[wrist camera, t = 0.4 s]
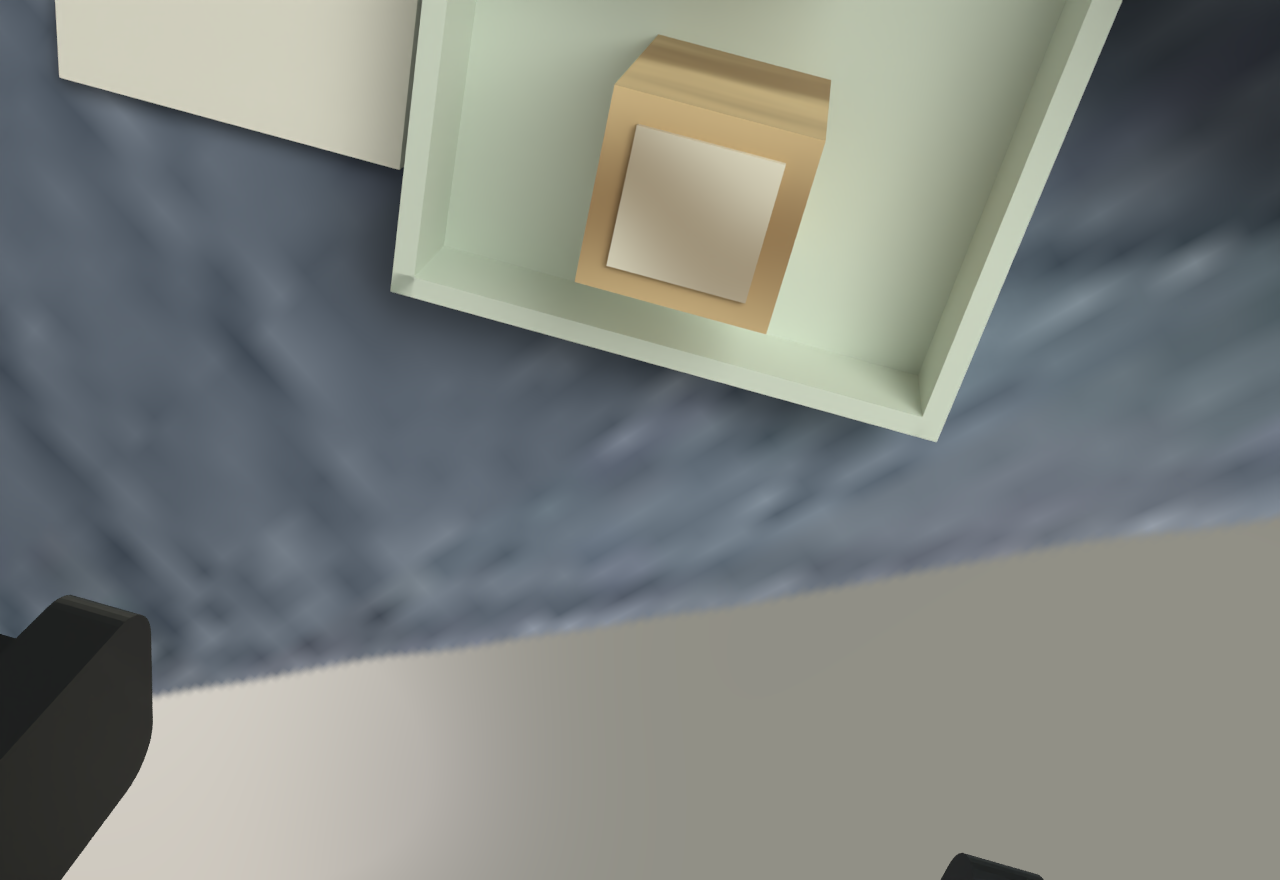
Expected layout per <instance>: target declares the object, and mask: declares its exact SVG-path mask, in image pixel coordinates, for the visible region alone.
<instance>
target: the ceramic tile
mask: <svg viewBox="0 0 1280 880" xmlns="http://www.w3.org/2000/svg"><path fill="white" fill-rule="evenodd" d="M55 7H56V25H57V44H58V62H59V78H63V79H67V80H70V81H74V82H78V83H81V84H85V85H89V86H92V87H96V88H100V89H103V90H107V91H111V92H114V93H118V94H122V95H125V96H129V97H133V98H137V99H140V100H144V101H148V102H151V103H155V104H159V105H162V106H166V107H170V108H173V109H177V110H181V111H184V112H188V113H192V114H195V115H199V116H203V117H206V118H210V119H214V120H217V121H221V122H225V123H228V124H232V125H236V126H240V127H243V128H247V129H251V130H254V131H258V132H262V133H265V134H269V135H273V136H276V137H280V138H284V139H287V140H291V141H295V142H298V143H302V144H306V145H309V146H313V147H317V148H320V149H324V150H328V151H332V152H335V153H339V154H343V155H346V156H350V157H354V158H357V159H361V160H365V161H368V162H372V163H376V164H379V165H383V166H387V167H390V168H394V169H398V170H400V169H401V168H402V167H404V163H405V154H406V145H407V136H408V127H409V118H410V109H411V99H412V90H413V81H414V72H415V63H416V54H417V45H418V35H419V26H420V17H421V8H422V0H55Z"/></svg>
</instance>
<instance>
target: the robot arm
mask: <svg viewBox="0 0 1280 880" xmlns="http://www.w3.org/2000/svg"><path fill="white" fill-rule="evenodd" d="M152 725H153V714H152V661H151V628H150V624H149V621H148V619H147V618H146V617H145V616H143V615H139V614H136V613H132V612H129V611H125V610H122V609H118V608H115V607H111V606H108V605H104V604H101V603H97V602H94V601H90V600H87V599H83V598H80V597H76V596H73V595H66V596H63V597H61V598H59V599H57V600H56V601H54V602H53V603H52V604H51V605H50V606H49V607H47V608H46V609H45V610H44V611H43V612H42V613H41V614H40V615H39V616H38V617H37V618H36V619H35V620H34V621H33V622H32V623H31V624H30V625H29V626H28V627H27V628H26V629H25V630H24V631H23V632H22V633H21V634H20V635H19V636H18V637H17V638H12V637H9V636H5V635H2V634H0V880H61V879H62V878H63V876H64V875H65V874H66V872H67V871H68V870H69V868H70V867H71V866H72V864H73V863H74V862H75V860H76V859H77V858H78V856H79V855H80V854H81V852H82V851H83V850H84V848H85V847H86V846H87V844H88V843H89V841H90V840H91V838H92V837H93V836H94V835H95V833H96V832H97V831H98V829H99V828H100V827H101V825H102V824H103V822H104V821H105V820H106V819H107V817H108V816H109V815H110V813H111V812H112V811H113V809H114V808H115V806H116V805H117V804H118V802H119V801H120V800H121V798H122V797H123V796H124V794H125V793H126V792H127V790H128V789H129V787H130V786H131V784H132V782H133V781H134V779H135V778H136V776H137V774H138V772H139V770H140V768H141V765H142V763H143V761H144V758H145V755H146V753H147V750H148V746H149V743H150V739H151V733H152ZM941 880H1043V878H1042V877H1041V876H1040V875H1037V874H1034V873H1031V872H1027V871H1024V870H1020V869H1017V868H1013V867H1010V866H1006V865H1003V864H999V863H996V862H992V861H989V860H985V859H982V858H978V857H975V856H971V855H968V854H964V853H960V854H958V855H956V856H955V857H954V858H953V860H952V861H951V862H950V864H949V866H948V867H947V869H946V871H945V873H944V875H943V877H942V878H941Z"/></svg>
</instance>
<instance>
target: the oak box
mask: <svg viewBox="0 0 1280 880" xmlns="http://www.w3.org/2000/svg"><path fill="white" fill-rule="evenodd" d="M830 87H831V80H829V79H825V78H822V77H818V76H814V75H810V74H806V73H803V72H799V71H795V70H791V69H788V68H784V67H780V66H776V65H773V64H769V63H765V62H761V61H757V60H754V59H750V58H746V57H742V56H739V55H735V54H731V53H727V52H723V51H720V50H716V49H712V48H708V47H705V46H701V45H697V44H693V43H690V42H686V41H682V40H678V39H674V38H671V37H667V36H663V35H659V34H658V35H657V37H656V38H655V39H654V40H653V41H652V42H651V43H650V45H649V46H648V47H647V48H646V49H645V50H644V51H643V53H642V54H641V55H640V56H639V57H638V58H637V59H636V61H635V62H634V63H633V64H632V65H631V66H630V67H629V69H628V70H627V71H626V72H625V73H624V74H623V75H622V76H621V78H620V79H619V80H618V81H617V82H616V83H615V84H614V89H613V94H612V99H611V104H610V109H609V114H608V119H607V124H606V129H605V133H604V138H603V143H602V148H601V153H600V158H599V163H598V168H597V173H596V178H595V183H594V188H593V193H592V198H591V203H590V208H589V213H588V218H587V222H586V227H585V232H584V237H583V242H582V247H581V252H580V257H579V262H578V267H577V272H576V277H575V282H576V283H580V284H584V285H587V286H591V287H595V288H598V289H602V290H606V291H609V292H613V293H617V294H620V295H624V296H628V297H631V298H635V299H639V300H642V301H646V302H649V303H653V304H657V305H660V306H664V307H668V308H671V309H675V310H679V311H682V312H686V313H690V314H693V315H697V316H701V317H704V318H708V319H712V320H715V321H719V322H722V323H726V324H730V325H733V326H737V327H741V328H744V329H748V330H752V331H755V332H759V333H763V334H766V333H767V330H768V327H769V323H770V320H771V317H772V314H773V311H774V307H775V304H776V301H777V298H778V294H779V291H780V288H781V285H782V281H783V278H784V275H785V272H786V268H787V265H788V262H789V259H790V255H791V252H792V249H793V246H794V242H795V239H796V236H797V233H798V229H799V226H800V223H801V220H802V216H803V213H804V210H805V207H806V203H807V200H808V197H809V194H810V190H811V187H812V184H813V181H814V177H815V174H816V171H817V168H818V164H819V161H820V158H821V155H822V151H823V148H824V145H825V142H826V132H827V121H828V110H829V99H830Z"/></svg>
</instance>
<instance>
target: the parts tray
mask: <svg viewBox="0 0 1280 880" xmlns="http://www.w3.org/2000/svg"><path fill="white" fill-rule="evenodd" d="M1121 3H1122V0H422V8H421V17H420V26H419V35H418V45H417V54H416V63H415V72H414V81H413V90H412V99H411V109H410V118H409V127H408V136H407V145H406V154H405V163H404V173H403V182H402V191H401V200H400V209H399V218H398V227H397V237H396V246H395V255H394V264H393V273H392V282H391V291H390V292H394V293H398V294H401V295H405V296H408V297H412V298H416V299H419V300H423V301H427V302H430V303H434V304H437V305H441V306H445V307H448V308H452V309H456V310H459V311H463V312H466V313H470V314H474V315H477V316H481V317H485V318H488V319H492V320H495V321H499V322H503V323H506V324H510V325H514V326H517V327H521V328H524V329H528V330H532V331H535V332H539V333H543V334H546V335H550V336H553V337H557V338H561V339H564V340H568V341H572V342H575V343H579V344H582V345H586V346H590V347H593V348H597V349H601V350H604V351H608V352H611V353H615V354H619V355H622V356H626V357H630V358H633V359H637V360H640V361H644V362H648V363H651V364H655V365H659V366H662V367H666V368H670V369H673V370H677V371H680V372H684V373H688V374H691V375H695V376H699V377H702V378H706V379H709V380H713V381H717V382H720V383H724V384H728V385H731V386H735V387H738V388H742V389H746V390H749V391H753V392H757V393H760V394H764V395H767V396H771V397H775V398H778V399H782V400H786V401H789V402H793V403H796V404H800V405H804V406H807V407H811V408H815V409H818V410H822V411H825V412H829V413H833V414H836V415H840V416H844V417H847V418H851V419H854V420H858V421H862V422H865V423H869V424H873V425H876V426H880V427H883V428H887V429H891V430H894V431H898V432H902V433H905V434H909V435H912V436H916V437H920V438H923V439H927V440H931V441H934V442H937V440H938V438H939V435H940V433H941V430H942V428H943V426H944V423H945V421H946V419H947V416H948V414H949V411H950V409H951V407H952V404H953V402H954V400H955V397H956V395H957V392H958V390H959V388H960V385H961V383H962V381H963V378H964V376H965V373H966V371H967V369H968V366H969V364H970V362H971V359H972V357H973V354H974V352H975V350H976V347H977V345H978V343H979V340H980V338H981V335H982V333H983V331H984V328H985V326H986V323H987V321H988V319H989V316H990V314H991V312H992V309H993V307H994V304H995V302H996V300H997V297H998V295H999V293H1000V290H1001V288H1002V285H1003V283H1004V281H1005V278H1006V276H1007V274H1008V271H1009V269H1010V266H1011V264H1012V262H1013V259H1014V257H1015V255H1016V252H1017V250H1018V247H1019V245H1020V243H1021V240H1022V238H1023V236H1024V233H1025V231H1026V228H1027V226H1028V224H1029V221H1030V219H1031V217H1032V214H1033V212H1034V209H1035V207H1036V205H1037V202H1038V200H1039V198H1040V195H1041V193H1042V190H1043V188H1044V186H1045V183H1046V181H1047V178H1048V176H1049V174H1050V171H1051V169H1052V167H1053V164H1054V162H1055V159H1056V157H1057V155H1058V152H1059V150H1060V148H1061V145H1062V143H1063V140H1064V138H1065V136H1066V133H1067V131H1068V129H1069V126H1070V124H1071V121H1072V119H1073V117H1074V114H1075V112H1076V110H1077V107H1078V105H1079V102H1080V100H1081V98H1082V95H1083V93H1084V91H1085V88H1086V86H1087V83H1088V81H1089V79H1090V76H1091V74H1092V72H1093V69H1094V67H1095V64H1096V62H1097V60H1098V57H1099V55H1100V53H1101V50H1102V48H1103V45H1104V43H1105V41H1106V38H1107V36H1108V33H1109V31H1110V29H1111V26H1112V24H1113V22H1114V19H1115V17H1116V14H1117V12H1118V10H1119V7H1120V5H1121ZM658 34H659V35H663V36H667V37H671V38H674V39H678V40H682V41H686V42H690V43H693V44H697V45H701V46H705V47H708V48H712V49H716V50H720V51H723V52H727V53H731V54H735V55H739V56H742V57H746V58H750V59H754V60H757V61H761V62H765V63H769V64H773V65H776V66H780V67H784V68H788V69H791V70H795V71H799V72H803V73H806V74H810V75H814V76H818V77H822V78H825V79H829V80H831V87H830V99H829V110H828V121H827V132H826V142H825V145H824V148H823V151H822V155H821V158H820V161H819V164H818V168H817V171H816V174H815V177H814V181H813V184H812V187H811V190H810V194H809V197H808V200H807V203H806V207H805V210H804V213H803V216H802V220H801V223H800V226H799V229H798V233H797V236H796V239H795V242H794V246H793V249H792V252H791V255H790V259H789V262H788V265H787V268H786V272H785V275H784V278H783V281H782V285H781V288H780V291H779V294H778V298H777V301H776V304H775V307H774V311H773V314H772V317H771V320H770V323H769V327H768V330H767V333H766V334H763V333H759V332H755V331H752V330H748V329H744V328H741V327H737V326H733V325H730V324H726V323H722V322H719V321H715V320H712V319H708V318H704V317H701V316H697V315H693V314H690V313H686V312H682V311H679V310H675V309H671V308H668V307H664V306H660V305H657V304H653V303H649V302H646V301H642V300H639V299H635V298H631V297H628V296H624V295H620V294H617V293H613V292H609V291H606V290H602V289H598V288H595V287H591V286H587V285H584V284H580V283H576V282H575V277H576V272H577V267H578V262H579V257H580V252H581V247H582V242H583V237H584V232H585V227H586V222H587V218H588V213H589V208H590V203H591V198H592V193H593V188H594V183H595V178H596V173H597V168H598V163H599V158H600V153H601V148H602V143H603V138H604V133H605V129H606V124H607V119H608V114H609V109H610V104H611V99H612V94H613V89H614V84H615V83H616V82H617V81H618V80H619V79H620V78H621V76H622V75H623V74H624V73H625V72H626V71H627V70H628V69H629V67H630V66H631V65H632V64H633V63H634V62H635V61H636V59H637V58H638V57H639V56H640V55H641V54H642V53H643V51H644V50H645V49H646V48H647V47H648V46H649V45H650V43H651V42H652V41H653V40H654V39H655V38H656V37H657V35H658Z"/></svg>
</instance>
